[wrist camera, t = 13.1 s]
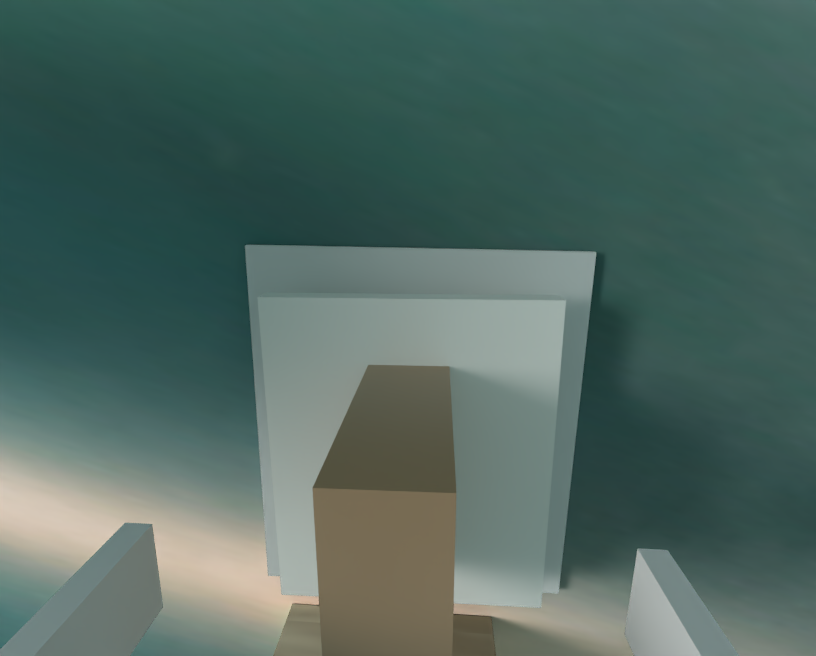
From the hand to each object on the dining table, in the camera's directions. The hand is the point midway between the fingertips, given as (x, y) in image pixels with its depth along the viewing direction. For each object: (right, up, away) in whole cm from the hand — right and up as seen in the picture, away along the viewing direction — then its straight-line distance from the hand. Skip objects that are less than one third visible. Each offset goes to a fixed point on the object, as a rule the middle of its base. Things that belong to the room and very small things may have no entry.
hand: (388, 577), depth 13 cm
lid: (+1, +2, +8) cm, 8 cm away
